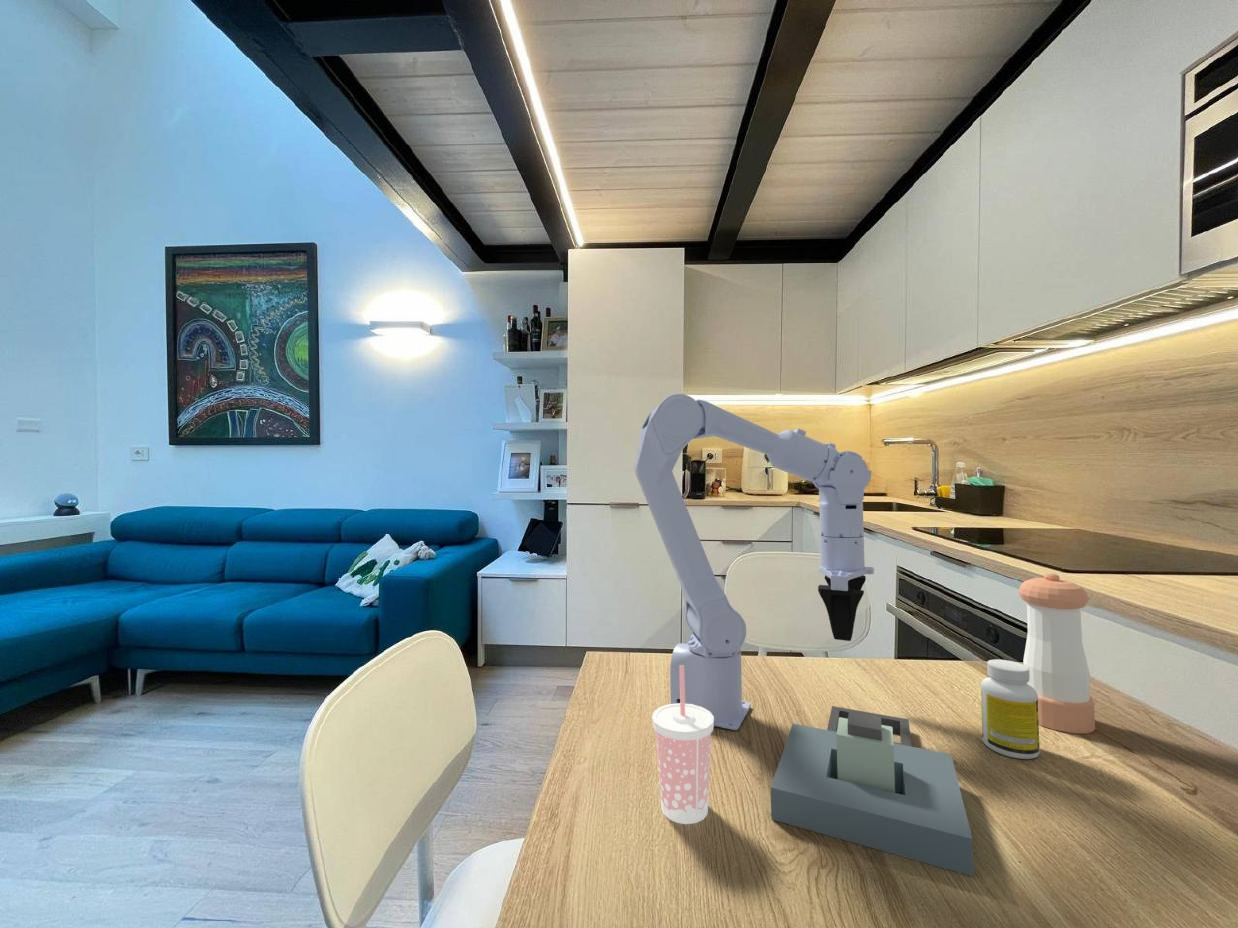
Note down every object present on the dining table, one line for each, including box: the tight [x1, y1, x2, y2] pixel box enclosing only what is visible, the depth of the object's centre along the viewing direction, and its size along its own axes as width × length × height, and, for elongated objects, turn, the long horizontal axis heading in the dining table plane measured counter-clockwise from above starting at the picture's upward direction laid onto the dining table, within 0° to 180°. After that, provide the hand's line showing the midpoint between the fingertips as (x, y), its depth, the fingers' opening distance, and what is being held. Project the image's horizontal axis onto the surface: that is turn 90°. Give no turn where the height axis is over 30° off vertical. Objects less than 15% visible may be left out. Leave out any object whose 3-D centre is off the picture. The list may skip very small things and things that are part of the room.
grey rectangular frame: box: [826, 705, 913, 747], centre depth 63 cm, size 9×8×2 cm
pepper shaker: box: [1018, 572, 1096, 734], centre depth 67 cm, size 7×7×19 cm
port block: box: [770, 723, 975, 878], centre depth 51 cm, size 16×14×3 cm
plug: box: [837, 712, 896, 793], centre depth 51 cm, size 5×4×8 cm
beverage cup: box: [651, 665, 715, 825], centre depth 51 cm, size 6×6×14 cm
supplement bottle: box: [980, 659, 1041, 760], centre depth 61 cm, size 5×5×10 cm
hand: (844, 631), depth 72 cm, fingers open, 7 cm apart
